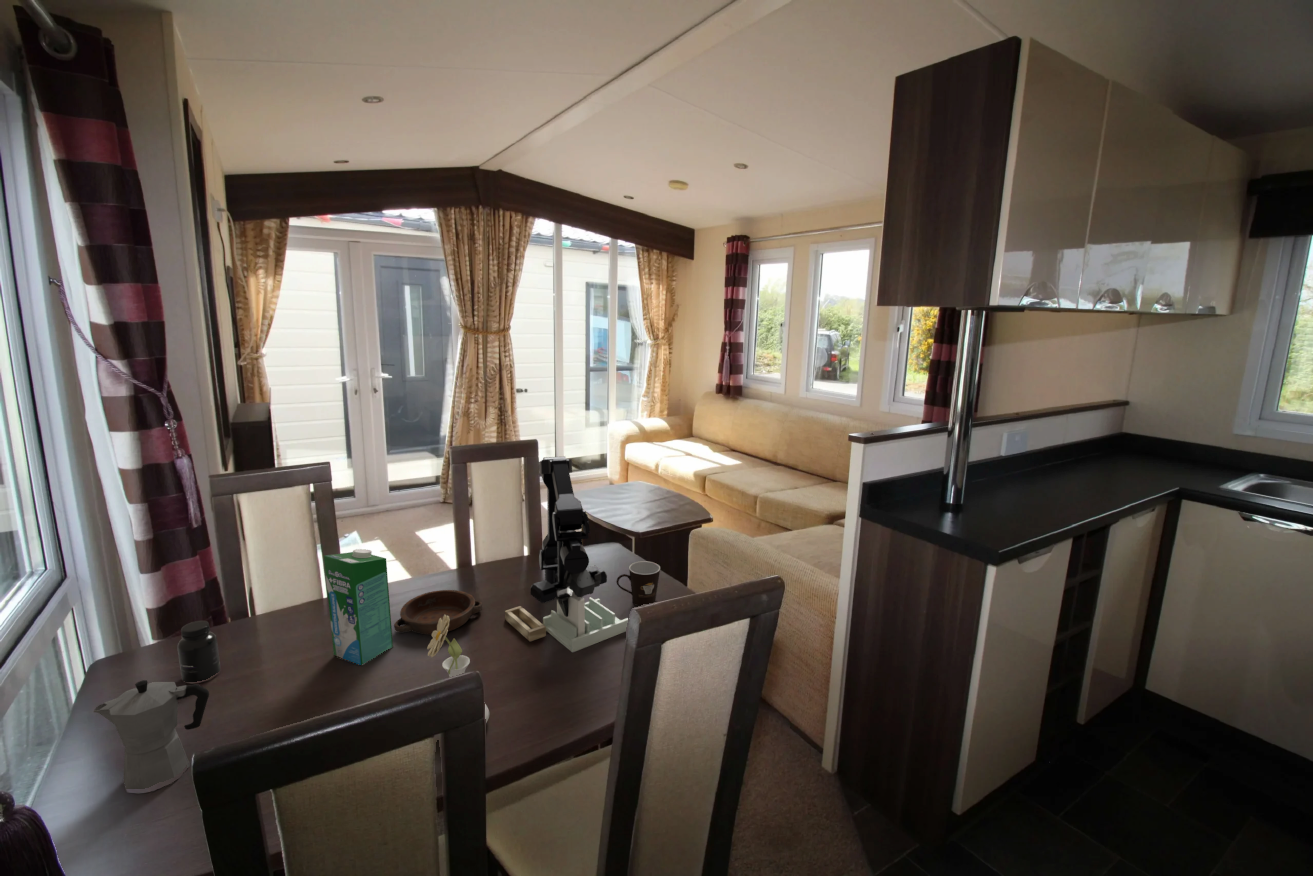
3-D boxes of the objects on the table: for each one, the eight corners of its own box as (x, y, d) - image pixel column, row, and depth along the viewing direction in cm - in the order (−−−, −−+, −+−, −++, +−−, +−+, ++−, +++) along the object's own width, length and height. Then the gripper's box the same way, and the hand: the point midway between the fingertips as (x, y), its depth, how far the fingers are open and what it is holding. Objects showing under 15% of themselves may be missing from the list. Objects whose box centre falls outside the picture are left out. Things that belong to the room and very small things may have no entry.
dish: (385, 620, 157) (384, 602, 156) (469, 597, 170) (468, 581, 169) (404, 651, 144) (403, 632, 143) (493, 624, 157) (493, 606, 156)
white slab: (557, 622, 155) (556, 585, 153) (563, 619, 156) (562, 583, 154) (578, 639, 147) (578, 601, 145) (584, 636, 148) (584, 599, 146)
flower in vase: (441, 705, 125) (434, 593, 119) (496, 708, 124) (492, 595, 119) (414, 751, 112) (406, 627, 106) (476, 754, 111) (470, 630, 106)
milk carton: (393, 647, 145) (385, 548, 140) (361, 666, 137) (351, 563, 132) (366, 637, 149) (358, 541, 143) (333, 656, 141) (323, 555, 135)
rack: (543, 628, 155) (542, 610, 154) (598, 608, 166) (598, 591, 165) (572, 652, 144) (572, 633, 143) (629, 629, 155) (629, 612, 154)
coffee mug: (660, 594, 174) (661, 562, 172) (657, 609, 166) (658, 575, 164) (620, 592, 175) (620, 559, 173) (615, 606, 167) (615, 572, 165)
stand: (505, 619, 159) (505, 610, 158) (520, 614, 161) (520, 605, 161) (529, 641, 149) (529, 632, 148) (545, 636, 151) (545, 626, 151)
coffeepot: (97, 806, 98) (77, 708, 94) (119, 766, 107) (101, 675, 103) (212, 778, 104) (198, 685, 100) (224, 743, 113) (211, 655, 109)
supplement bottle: (179, 689, 128) (170, 637, 125) (185, 671, 134) (177, 621, 131) (218, 680, 131) (211, 629, 128) (223, 663, 137) (216, 615, 134)
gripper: (552, 578, 136) (553, 641, 139) (620, 557, 147) (619, 616, 151) (528, 561, 144) (530, 621, 147) (594, 543, 156) (594, 599, 159)
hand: (569, 614), depth 151 cm, fingers closed on white slab, 2 cm apart
